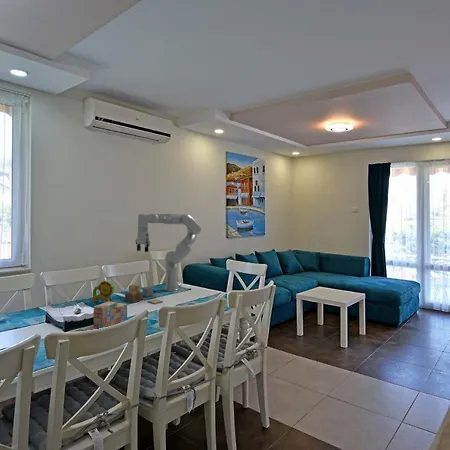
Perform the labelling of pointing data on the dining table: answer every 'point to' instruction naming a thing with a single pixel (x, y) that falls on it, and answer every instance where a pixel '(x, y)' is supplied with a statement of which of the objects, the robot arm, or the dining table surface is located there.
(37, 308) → the dining table surface
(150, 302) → the mat
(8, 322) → the dining table surface
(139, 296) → the walnut block
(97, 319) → the stack of blocks
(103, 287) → the toy lion
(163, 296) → the dining table surface
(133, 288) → the honey cube
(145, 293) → the grey cube
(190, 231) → the robot arm
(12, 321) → the dining table surface
